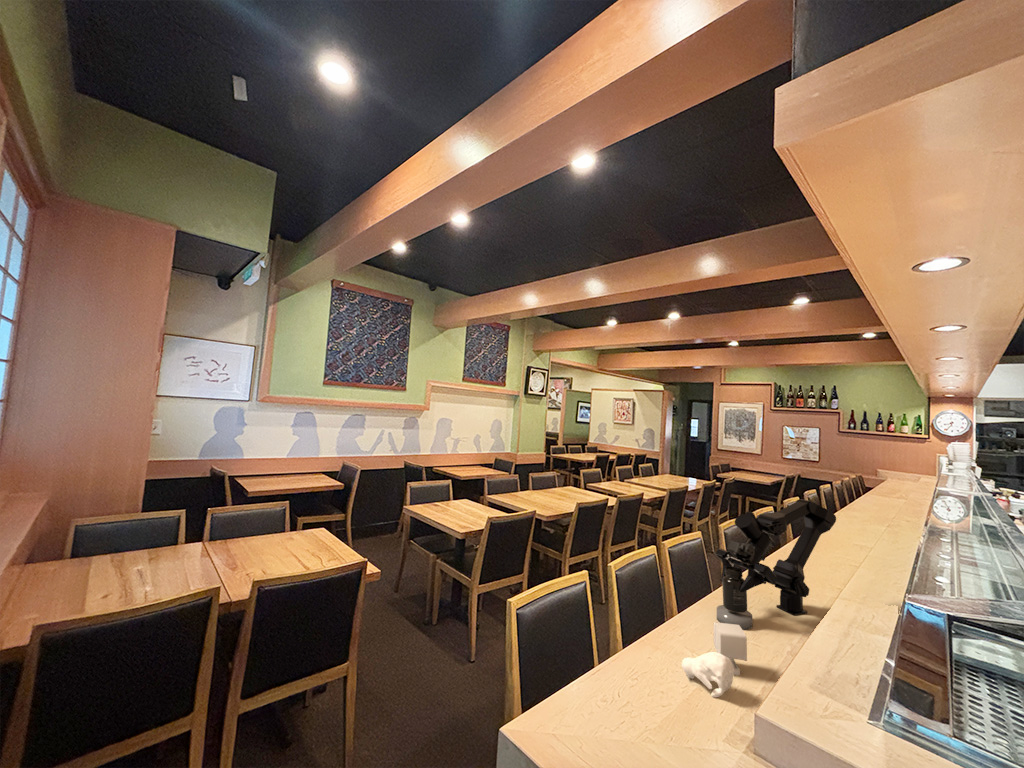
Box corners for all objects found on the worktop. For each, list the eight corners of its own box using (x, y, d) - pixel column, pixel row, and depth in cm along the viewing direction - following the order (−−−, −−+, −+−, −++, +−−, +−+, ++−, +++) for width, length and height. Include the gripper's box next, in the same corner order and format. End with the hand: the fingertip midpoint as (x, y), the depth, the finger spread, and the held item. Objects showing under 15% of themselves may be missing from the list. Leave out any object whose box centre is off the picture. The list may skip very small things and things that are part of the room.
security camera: (747, 678, 104) (747, 636, 105) (717, 673, 105) (716, 632, 106) (739, 663, 110) (738, 623, 111) (710, 659, 112) (710, 620, 112)
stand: (733, 612, 139) (733, 603, 139) (760, 627, 130) (760, 617, 130) (709, 616, 136) (709, 606, 136) (735, 631, 126) (734, 621, 127)
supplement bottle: (749, 607, 133) (748, 568, 134) (745, 615, 128) (743, 574, 129) (725, 601, 138) (724, 563, 139) (720, 608, 132) (719, 569, 133)
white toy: (723, 663, 95) (674, 645, 104) (727, 705, 94) (677, 682, 103) (735, 653, 99) (687, 637, 108) (739, 693, 98) (690, 673, 107)
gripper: (718, 524, 145) (694, 560, 140) (769, 539, 127) (742, 582, 123) (736, 545, 147) (712, 582, 142) (788, 563, 130) (763, 606, 125)
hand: (731, 587), depth 133 cm, fingers closed on supplement bottle, 7 cm apart
